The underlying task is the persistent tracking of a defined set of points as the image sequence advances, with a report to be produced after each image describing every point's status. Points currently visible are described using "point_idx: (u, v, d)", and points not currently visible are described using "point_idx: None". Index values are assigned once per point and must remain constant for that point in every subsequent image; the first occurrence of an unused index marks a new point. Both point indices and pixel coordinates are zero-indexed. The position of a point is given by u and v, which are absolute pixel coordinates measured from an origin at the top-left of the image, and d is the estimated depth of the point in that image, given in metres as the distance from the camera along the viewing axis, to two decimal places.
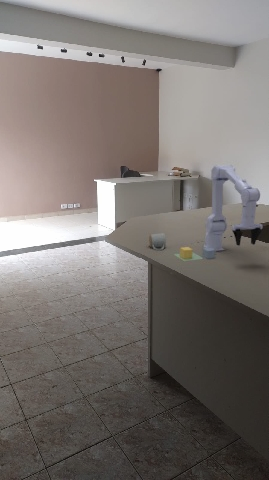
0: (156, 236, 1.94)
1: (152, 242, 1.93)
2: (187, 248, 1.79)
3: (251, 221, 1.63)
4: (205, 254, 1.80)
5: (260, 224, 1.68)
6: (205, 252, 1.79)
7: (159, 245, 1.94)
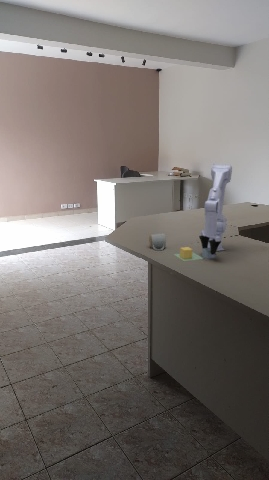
0: (156, 236, 1.93)
1: (152, 242, 1.92)
2: (187, 248, 1.79)
3: (205, 229, 1.76)
4: (205, 255, 1.80)
5: (217, 237, 1.72)
6: (205, 252, 1.79)
7: (159, 245, 1.93)
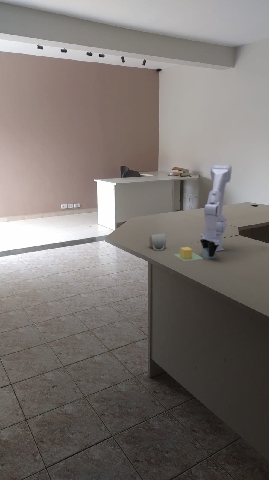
0: (156, 236, 1.93)
1: (152, 242, 1.92)
2: (187, 248, 1.79)
3: (205, 233, 1.77)
4: (205, 254, 1.80)
5: (217, 240, 1.72)
6: (205, 252, 1.79)
7: (159, 245, 1.93)
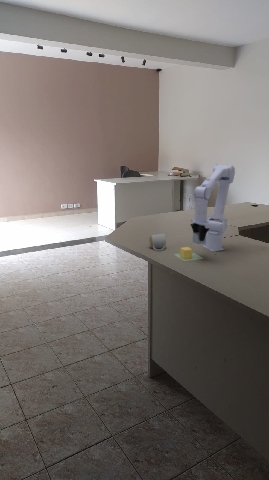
0: (156, 237, 1.92)
1: (152, 243, 1.92)
2: (187, 248, 1.79)
3: (195, 216, 1.74)
4: (195, 239, 1.77)
5: (207, 223, 1.70)
6: (196, 237, 1.76)
7: (159, 246, 1.93)
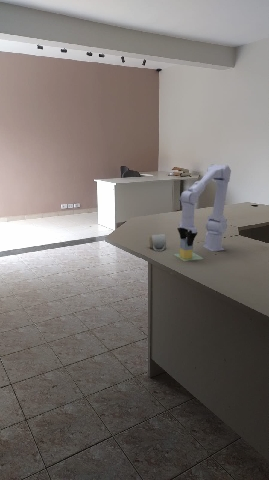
0: (156, 237, 1.92)
1: (152, 243, 1.91)
2: None
3: (182, 221, 1.74)
4: (182, 245, 1.77)
5: (194, 228, 1.70)
6: (183, 243, 1.77)
7: (159, 246, 1.92)
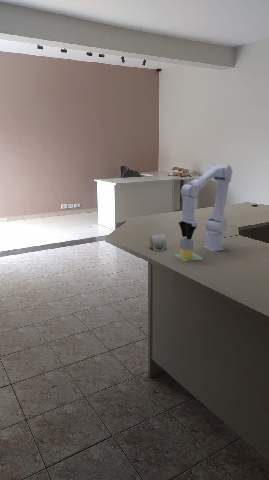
0: (157, 237, 1.92)
1: (152, 243, 1.91)
2: None
3: (182, 215, 1.73)
4: (182, 245, 1.77)
5: (194, 222, 1.69)
6: (183, 243, 1.77)
7: (160, 246, 1.92)
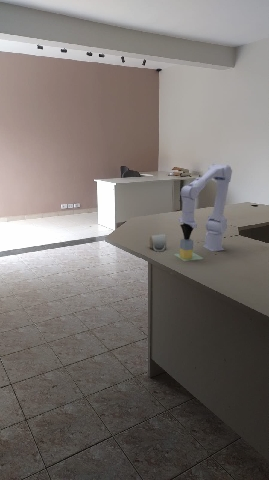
0: (157, 237, 1.91)
1: (153, 243, 1.91)
2: None
3: (182, 216, 1.73)
4: (182, 245, 1.77)
5: (194, 223, 1.69)
6: (183, 243, 1.77)
7: (160, 246, 1.91)
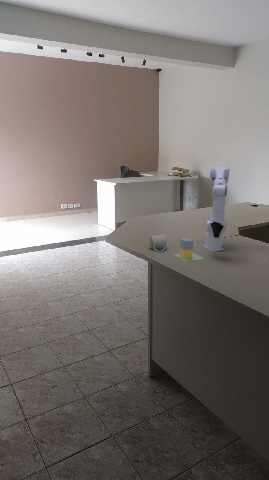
0: (157, 237, 1.91)
1: (153, 244, 1.90)
2: None
3: (213, 214, 1.74)
4: (182, 245, 1.77)
5: (225, 221, 1.70)
6: (183, 243, 1.77)
7: (160, 247, 1.91)
